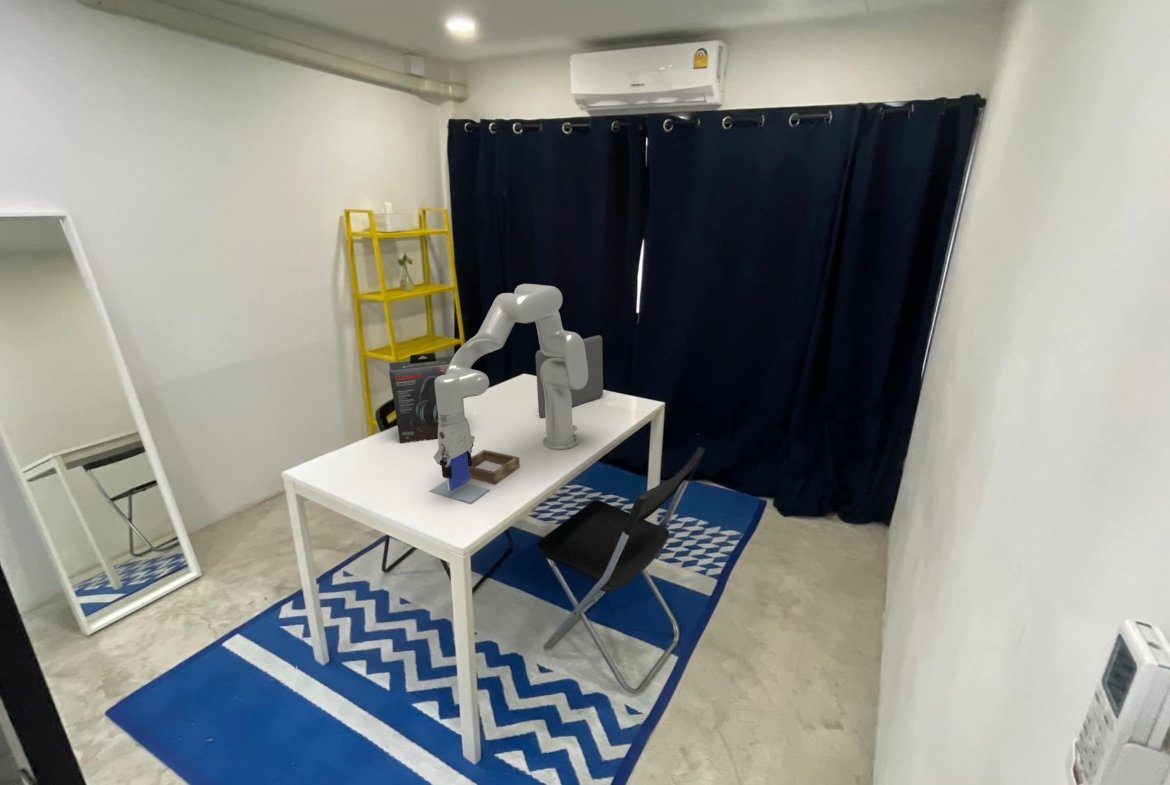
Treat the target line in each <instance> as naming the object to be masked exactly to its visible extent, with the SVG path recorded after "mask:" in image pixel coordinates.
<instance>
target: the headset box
mask: <svg viewBox="0 0 1170 785" xmlns="http://www.w3.org/2000/svg"><path fill="white" fill-rule="evenodd" d="M422 356H423V358H421V357H422ZM453 357H454V355H449V356H440V357H436V355H435V353H434V352H427V353H418V354H410V357H409V360H405V361H397V362H396V361H395V362H389V363H388V368H389V369H388V373H389V374H388V375H389V381H390V385H391V393H392V398H393V399H392V400H393V406H394V412H395V417H396V418H395V419H396V423H397V424H396V425H397V432H398V438H399V443H400V444H409V443H417V442H418V443H419V442H425V441H432V440H433V441H435V440H438V425H439V423H438V410H437V401H436V393H435V383H434V382H435V379H436V378H437V377H439V376H441V375H446V371H447V368H448V366H449V364H450V362H451V360H452V358H453Z"/></svg>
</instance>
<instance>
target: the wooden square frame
mask: <svg viewBox="0 0 1170 785" xmlns="http://www.w3.org/2000/svg"><path fill="white" fill-rule="evenodd" d="M471 460H472V466H469V476H470V479H473V480H476V481H479V482H483V483H487V484H491V485H493V486H496V485H497V484H499V483H500V482H501V481H503V480H504V479H505V478H507V477H509V476H510V475H511V474H513V473H515V472H516V471H517V470H518V469H520V467H521V464H520V457H519V456H514V455H511V454H505V453H500V452H495V451H491V450H487V449H482V450H481V451H480V452H478V453H476V454H475V455H473V456H471ZM484 462H489V463H493V464H497V465H500V466H499V467H498V468H497V469H495V470H494V471H493V470H487V469H484V468H479V467H478V466H479V465H481V464H482V463H484Z"/></svg>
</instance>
